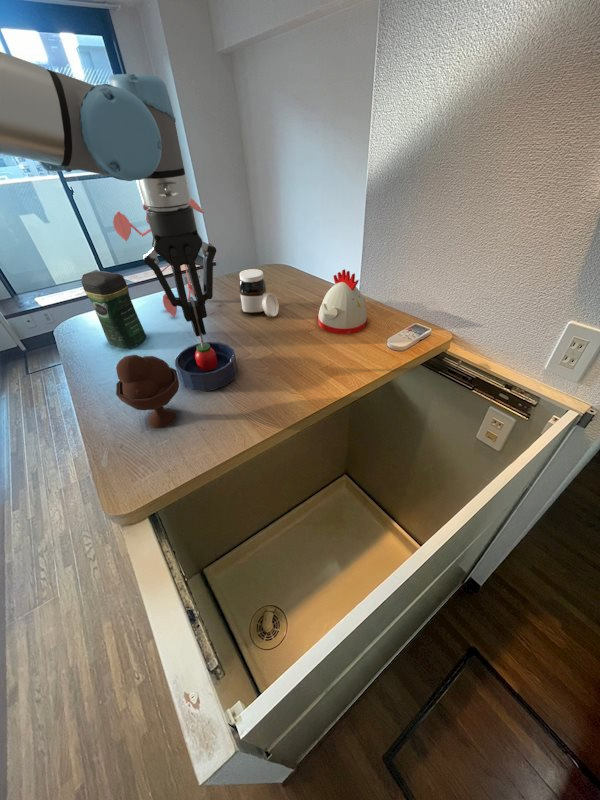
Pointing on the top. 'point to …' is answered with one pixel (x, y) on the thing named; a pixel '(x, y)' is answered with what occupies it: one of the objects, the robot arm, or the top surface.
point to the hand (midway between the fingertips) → (199, 332)
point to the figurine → (124, 231)
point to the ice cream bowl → (148, 387)
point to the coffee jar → (114, 308)
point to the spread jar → (256, 294)
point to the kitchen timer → (343, 306)
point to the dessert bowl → (210, 378)
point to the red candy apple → (203, 349)
